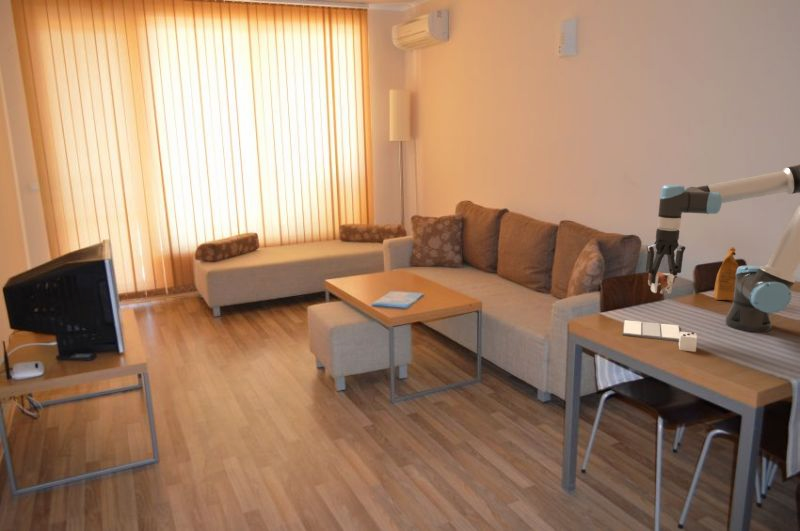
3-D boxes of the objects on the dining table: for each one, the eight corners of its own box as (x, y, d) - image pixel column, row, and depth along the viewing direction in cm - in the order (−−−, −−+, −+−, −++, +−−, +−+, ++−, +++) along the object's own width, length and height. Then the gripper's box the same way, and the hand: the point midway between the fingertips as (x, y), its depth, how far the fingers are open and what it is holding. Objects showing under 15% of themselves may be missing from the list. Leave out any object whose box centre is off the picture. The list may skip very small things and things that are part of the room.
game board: (678, 327, 229) (678, 325, 229) (681, 341, 214) (681, 338, 214) (623, 322, 236) (624, 319, 236) (622, 335, 221) (622, 332, 221)
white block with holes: (694, 346, 209) (696, 331, 208) (695, 351, 205) (697, 336, 204) (678, 345, 211) (680, 330, 210) (679, 350, 207) (681, 334, 205)
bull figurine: (667, 298, 214) (670, 275, 212) (644, 287, 227) (646, 266, 225) (678, 297, 215) (681, 275, 213) (654, 287, 228) (656, 266, 226)
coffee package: (739, 296, 268) (745, 247, 263) (738, 303, 257) (744, 252, 252) (714, 293, 273) (720, 245, 268) (712, 300, 262) (717, 250, 257)
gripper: (686, 226, 220) (678, 288, 225) (639, 227, 218) (632, 289, 224) (697, 230, 212) (689, 294, 218) (649, 230, 211) (642, 295, 216)
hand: (661, 291), depth 221 cm, fingers closed on bull figurine, 5 cm apart
